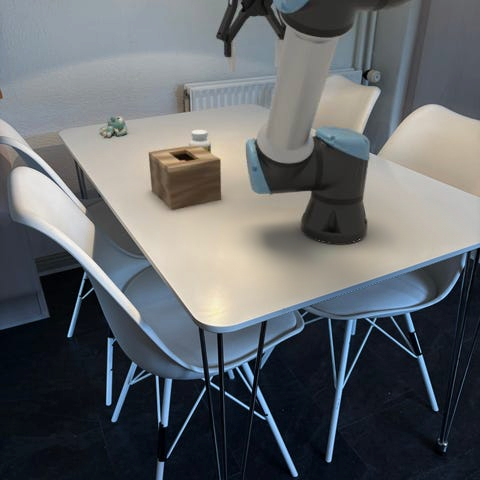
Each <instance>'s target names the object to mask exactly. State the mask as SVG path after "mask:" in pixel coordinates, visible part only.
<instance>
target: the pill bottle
mask: <svg viewBox="0 0 480 480" xmlns="http://www.w3.org/2000/svg"><path fill="white" fill-rule="evenodd" d="M191 138H192V139H190V140H189V143H188V146H191V145H199V146H200V147H202V148H203V149H205V150H207V151H208V152H210V153H211V154H212V146H211V145H212V143H211V141H210V140H209V139H208V131H207V130H204V129H196V130H195V129H194V130H192V131H191Z"/></svg>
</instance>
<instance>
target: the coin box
mask: <svg viewBox="0 0 480 480" xmlns="http://www.w3.org/2000/svg"><path fill="white" fill-rule="evenodd" d="M182 160H185V162H181V161H182ZM148 161H149V173H150V175H149V176H150V186H151V192H152V194H154V195H156V196H157V198H159V199H160V201H161V202H163V203H164V204H165V205H166V206H167V207H168V209H170V210H171V211H172V210H177V209H182V208H187V207H191V206H195V205H202V204H205V203H206V204H207V203H211V202H215V201H219V200H222V178H221V177H222V176H221V175H222V172H221V171H222V170H221V169H222V168H221V164H222V163H221V158H219V157H218V156H216V155H215V154H213V153H212V152H211V153H210V152H208V151H207V150H205V149H203V148H202V147H200V146H199V145H191V146H189V145H187V146H179V147H173V148H172V147H171V148H166V149H160V150H154V151H148Z"/></svg>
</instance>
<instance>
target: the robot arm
mask: <svg viewBox="0 0 480 480" xmlns="http://www.w3.org/2000/svg"><path fill="white" fill-rule="evenodd" d="M411 1H412V0H227V6H226V10H225V12H224V14H223V17H222V19H221V23H220V25H219V26H218V27H219V28H218V30H217V33H216V35H215V38H216V39H217V40H220V41H221V42H223V56H224V57H225V58H226V68H227V69H226V71H227V72H230V73H236V42H233V41H234V39H235V38H236V36H237V35H238V33H239V32H240V31H241V29H242V28H243V26H244V25H245V23H246V21H247V20H248V19H249V18H250V17H253V18H255V17H264V18H265V19H266V20H267V22H268V24H269V25H270V27H271V28H272V30H273V31H274V33H275V34H276V36H277V38H276V39H275V43H274V45H275V46H274V64H273V65H274V67H276V68H277V72H276V77H275V81H274V86H273V87H274V88H273V91H272V98H271V103H270V107H269V112H268V117H267V123H265V124H263V125H262V126H261V127H260V128H259V130H258V132H257V135H256V138H251V139H248V140H246V142H245V159H246V166H247V167H246V168H247V172H248V178H249V182H250V187H251V189H252V191H253V192H254V193H255V194H256V195H257V194H258V195H259V194H260V195H270V196H271V195H275V194H278V195H279V194H287V193H288V194H290V193H301V192H310V198H309V200H308V202H307V203H308V204H307V205H306V208H305V210H304V212H303V214H302V216H301V219H300V229H301V232H302V233H303V232H304V233H305V234H304V233H303V234H304V235H305V236H306V237H308V236H309V238H310V237H311V239H312V238H313V239H312V240H314V239H316V240H315V241H317V240H320V241H324V242H323V243H325V242H330V243H329V244H331V243H348V244H350V243H349V242H353V241H357V240H359V239H361V238H363V237H364V236H365V237H366V235H367V232H368V219H367V217H366V216H367V215H366V210H365V205H364V194H365V187H366V181H367V174H368V167H369V161H370V149H371V147H370V146H371V144H370V139H368V137H367V136H366V135H364V134H362V133H360V132H358V131H356V130H353V129H348V128H344V127H338V126H330V125H329V126H328V125H327V126H319V127H317V128H316V130H315V132H314V136H312V134H311V131H312V128H313V125H314V121H315V118H316V115H317V112H318V108H319V105H320V102H321V98H322V95H323V92H324V89H325V86H326V82H327V79H328V75H329V72H330V69H331V65H332V62H333V59H334V55H335V53H336V49H337V46H338V44H339V43H338V42H339V39H340V38H342V37H344V36H346V35H347V34H348V33H350V31H352V28H353V26H354V23H355V20H356V18H357V15H358V13H359V12H385V11H390V10H395V9H398V8H400V7H402V6H406V5H407V4H408V3H410V2H411ZM240 5H241V9H240V10H239V12H238V15H237V16H236V18H235V20H234V17H235V15H236V13H237V11H238V7H239V6H240ZM272 5H274V7H275V11H276V13H277V15H278V18H277V16H276V14H275V11H274V9H273V8H272ZM233 20H234V21H233ZM365 237H364V238H365ZM364 238H363V239H364ZM361 240H362V239H361ZM320 241H319V242H320ZM359 241H360V240H359ZM357 242H358V241H357ZM353 243H354V242H353Z"/></svg>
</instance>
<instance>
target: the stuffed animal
mask: <svg viewBox="0 0 480 480" xmlns="http://www.w3.org/2000/svg"><path fill="white" fill-rule="evenodd" d="M106 123H107V125H104V126H102V127H100V128H99V131H100V133H101V135H102V136H103V137H109V138H110V137H111V136H112V135H113V134H115V136H117V137H122V136H124V134H125V135H126V134H127V131H128V128H127V124H126V122H125V120H124V118H123V117H122V116H115V115H111V116H110V118H109V119H108V120H107V122H106ZM114 132H115V133H114ZM121 135H122V136H121Z"/></svg>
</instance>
